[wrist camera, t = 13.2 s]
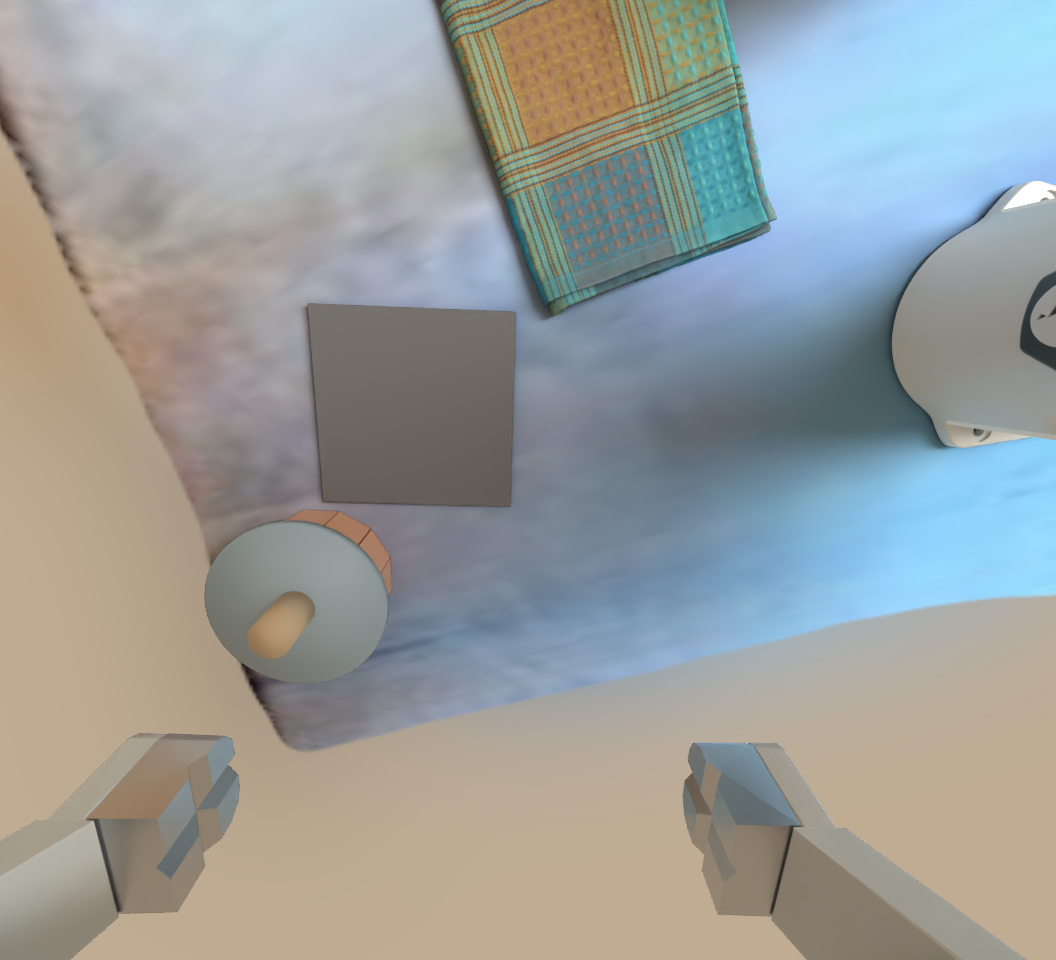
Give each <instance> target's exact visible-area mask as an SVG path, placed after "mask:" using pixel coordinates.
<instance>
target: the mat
mask: <svg viewBox="0 0 1056 960" xmlns="http://www.w3.org/2000/svg"><path fill="white" fill-rule="evenodd" d="M308 314H309V326H310V339H311V352H312V364H313V377H314V389H315V402H316V414H317V427H318V440H319V452H320V465H321V477H322V490H323V501H328V502H363V503H398V504H433V505H468V506H502V507H510V503H511V468H512V434H513V399H514V365H515V330H516V312H510V311H486V310H461V309H436V308H412V307H387V306H362V305H338V304H313V303H308Z"/></svg>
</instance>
